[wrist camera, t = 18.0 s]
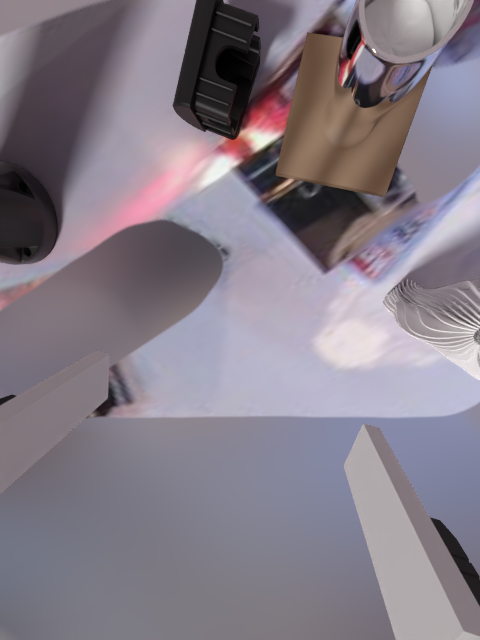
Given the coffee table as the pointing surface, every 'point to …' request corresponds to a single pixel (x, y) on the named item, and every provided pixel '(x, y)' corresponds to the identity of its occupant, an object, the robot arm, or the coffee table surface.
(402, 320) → the white ridged vase
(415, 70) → the beer glass
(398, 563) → the robot arm
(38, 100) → the coffee table surface
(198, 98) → the end cap
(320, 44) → the walnut board
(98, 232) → the coffee table surface
